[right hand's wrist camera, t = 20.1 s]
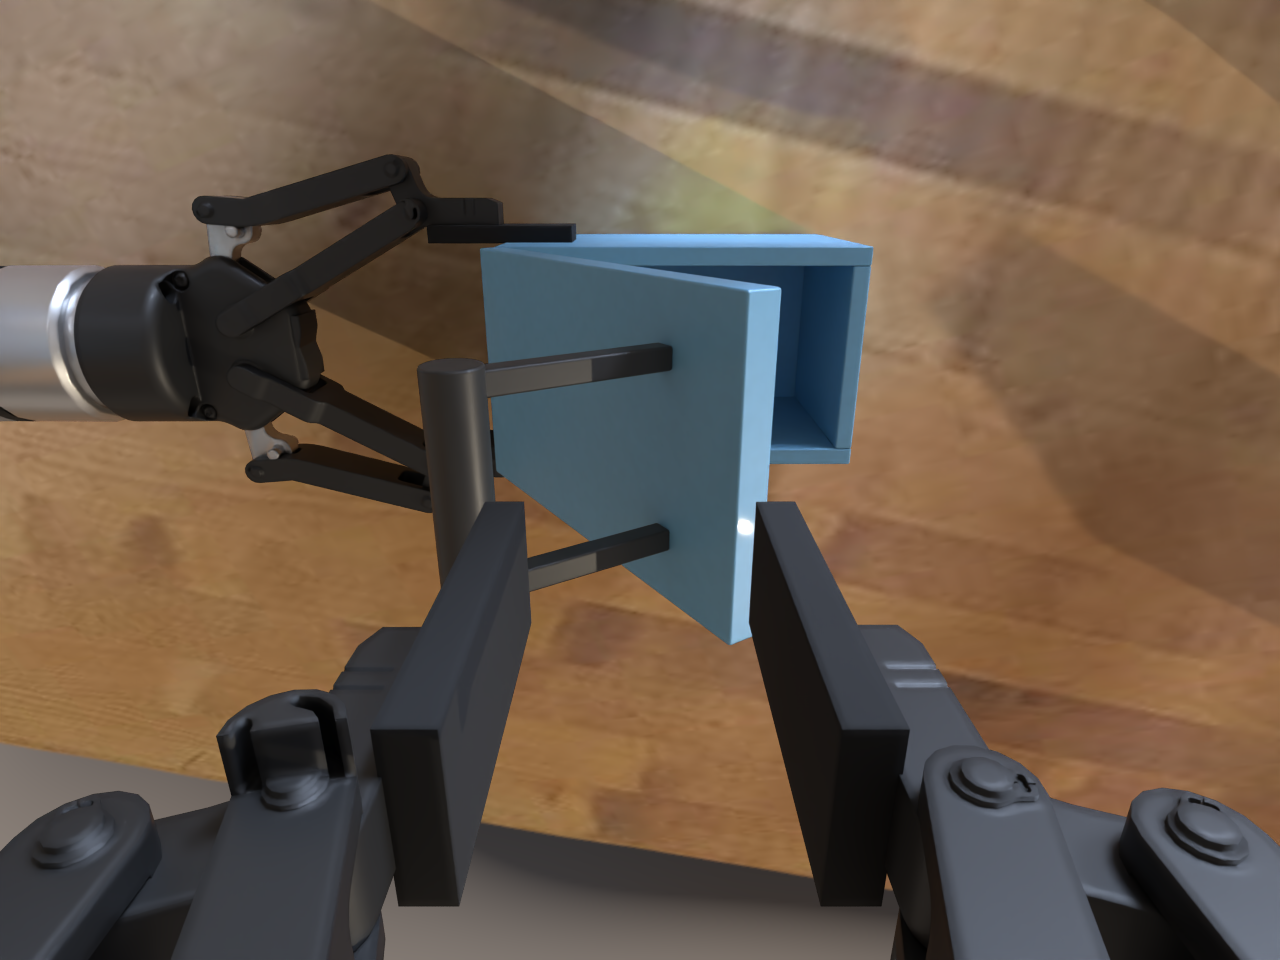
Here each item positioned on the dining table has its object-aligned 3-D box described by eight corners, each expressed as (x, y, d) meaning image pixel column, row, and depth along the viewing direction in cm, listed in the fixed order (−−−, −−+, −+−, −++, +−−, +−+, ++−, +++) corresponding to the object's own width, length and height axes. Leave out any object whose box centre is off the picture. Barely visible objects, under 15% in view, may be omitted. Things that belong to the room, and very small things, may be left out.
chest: (817, 234, 41) (874, 246, 31) (803, 405, 44) (849, 464, 35) (527, 234, 40) (494, 246, 31) (536, 405, 44) (509, 464, 34)
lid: (782, 286, 18) (463, 314, 14) (759, 634, 21) (499, 739, 17) (504, 247, 31) (298, 255, 27) (518, 467, 34) (337, 503, 30)
